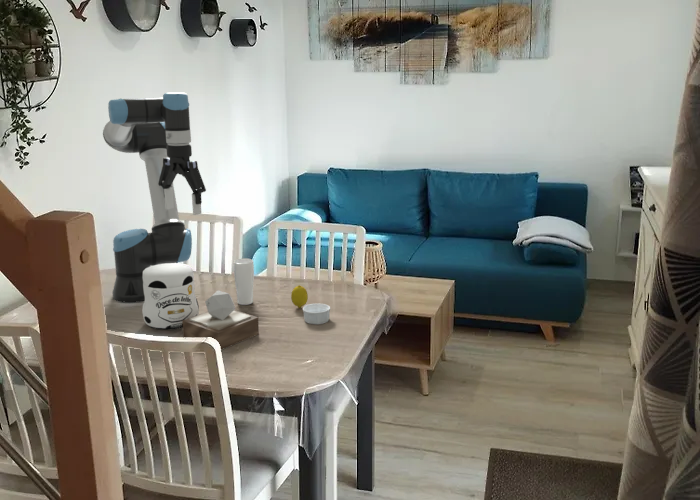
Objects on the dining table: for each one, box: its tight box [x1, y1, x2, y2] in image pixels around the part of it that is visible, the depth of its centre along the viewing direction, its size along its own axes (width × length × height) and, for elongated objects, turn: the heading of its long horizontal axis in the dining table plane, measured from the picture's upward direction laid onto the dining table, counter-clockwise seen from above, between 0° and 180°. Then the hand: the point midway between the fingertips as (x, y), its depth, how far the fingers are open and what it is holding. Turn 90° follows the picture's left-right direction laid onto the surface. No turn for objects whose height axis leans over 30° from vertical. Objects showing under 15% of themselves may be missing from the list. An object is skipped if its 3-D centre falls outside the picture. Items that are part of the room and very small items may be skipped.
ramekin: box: [302, 302, 331, 325], centre depth 231 cm, size 9×9×4 cm
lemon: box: [290, 284, 309, 309], centre depth 242 cm, size 6×6×8 cm
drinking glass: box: [233, 258, 255, 306], centre depth 246 cm, size 7×7×15 cm
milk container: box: [141, 262, 200, 331], centre depth 227 cm, size 17×17×18 cm
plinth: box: [182, 309, 260, 350], centre depth 218 cm, size 16×16×6 cm
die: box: [204, 289, 236, 320], centre depth 217 cm, size 8×9×10 cm
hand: (183, 211), depth 228 cm, fingers open, 13 cm apart
